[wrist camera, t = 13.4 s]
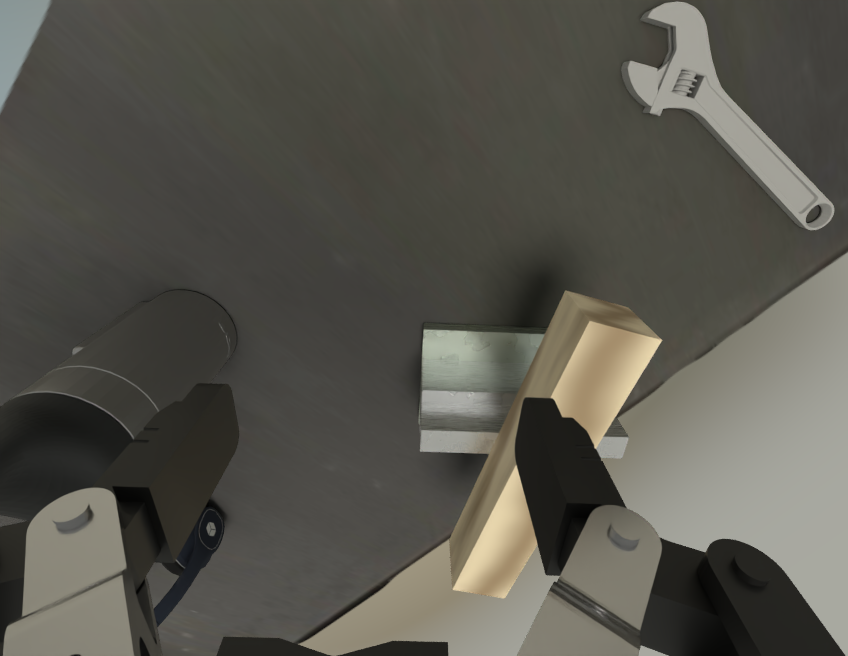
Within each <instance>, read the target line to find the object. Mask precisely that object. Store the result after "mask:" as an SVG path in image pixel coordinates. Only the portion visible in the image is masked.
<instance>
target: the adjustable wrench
mask: <svg viewBox="0 0 848 656" xmlns="http://www.w3.org/2000/svg"><path fill="white" fill-rule="evenodd" d="M640 21H643V22H646V23H650V24H653V25H656V26H660V27H663V28H666V29H667V34H668V53H667V55H666V57H665V60H664V62H663V64H662V66H661V67H660V68H658V69H657V68H654V67H650V66H647V65H644V64H640V63H637V62H633V61H627V62H623V65H622V67H621V73H622V77H623V81H624V84H625V86H626V88H627V90H628V91H629V93H630V94H631V95H632V97H633V98H634V99H635V100H636V101H638V102H639V103H640V104H641V105H642V106H644V107H645V108H644V110H643V113H650V114H652V115H656V116H660V114H661V112H662V110H663V109H665V108H678V109H683V110H685V111H687V112H689V113H691V114H692V115H693V116H694V117H696V118H697V119H698V120H699V121H700V123H701V124H702V125H703V126H704V127H705V128H706V129H707V130H708V131H709V132H710V133H711V134H712V135H713V136H714V137H715V138H716V140H717V141H718V142H719V143H720V144H721V145H722V146H723V147H724V148H725V149H726V150H727V151H728V152H729V153H730V154H731V155H732V157H733V158H734V159H735V160H736V161H737V162H738V163H739V164H740V165H741V166H742V167H743V168H744V169H745V170H746V171H747V172H748V174H749V175H750V176H751V177H752V178H753V179H754V180H755V181H756V182H757V183H758V184H759V185H760V186H761V187H762V188H763V189H764V191H765V192H766V193H767V194H768V195H769V196H770V197H771V198H772V199H773V200H774V201H775V202H776V203H777V204H778V205H779V206H780V208H781V209H782V210H783V211H784V212H785V213H786V214H787V215H788V216H789V217H790V218H791V219H792V220H793V221H794V222H795V223H796V225H798V226H799V227H802V228H805V229H809V230H817V229H820V228H822V227H823V226H825V225H826V224H827V223H828V222H829V221H830V220H831V218H832V217H833V214H834V206H833V204H832V203H831V202H830V201H829V200H828V199H827V198H826V197H825V196H824V195H823V194H822V193H821V192H820V191H819V189H818V188H817V187H816V186H815V185H814V184H813V183H812V182H811V181H810V180H809V179H808V178H807V177H806V176H805V175H804V174H803V173H802V172H801V171H800V170H799V169H798V168H797V167H796V166H795V165H794V164H793V162H792V161H791V160H790V159H789V158H788V157H787V156H786V155H785V154H784V153H783V152H782V151H781V150H780V149H779V148H778V147H777V146H776V145H775V144H774V143H773V142H772V141H771V140H770V139H769V138H768V137H767V136H766V134H765V133H764V132H763V131H762V130H761V129H760V128H759V127H758V126H757V125H756V124H755V123H754V122H753V121H752V120H751V119H750V118H749V117H748V116H747V115H746V114H745V113H744V112H743V111H742V110H741V109H740V107H739V106H738V105H737V104H736V103H735V102H734V101H733V100H732V99H731V98H730V97H729V96H728V95H727V94H726V93H725V91H724V90H723V89H722V87H721V85H720V83H719V81H718V78H717V75H716V72H715V68H714V65H713V61H712V57H711V52H710V46H709V40H708V33H707V27H706V23H705V20H704V18H703V17H702V15H701V13H700V12H699V11H698V10H697V9H696V8H695V7H693V6H691V5H689V4H687V3H684V2H671V3H665V4H662V5H660V6H657V7H655V8H653V9H651V10H649V11H647V12H645V13H644V14H643V16H642V17H641V19H640ZM695 77H696V80H695V79H694V78H695ZM692 82H694V84H693V85H691V84H692ZM690 88H691V91H689V89H690ZM687 93H689V95H688V97H687V96H686V95H687ZM816 205H819V206H820V207H821V211H820V214H819V216H818V217H817V218H816V219H815V220H814V221H813V222H810V223H806V216H807V214H808V212H809V211H810V210H811V209H812V208H813V207H814V206H816Z"/></svg>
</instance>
